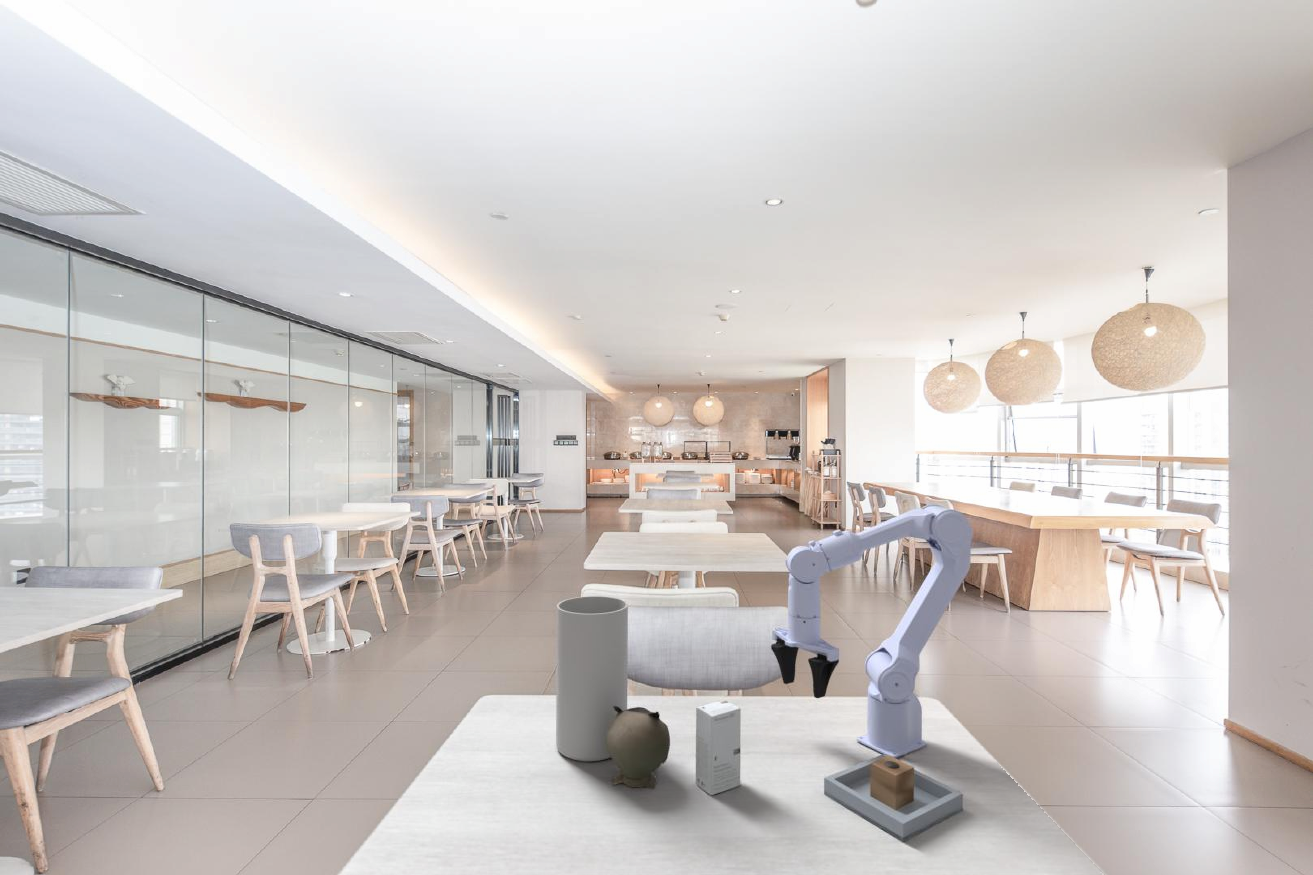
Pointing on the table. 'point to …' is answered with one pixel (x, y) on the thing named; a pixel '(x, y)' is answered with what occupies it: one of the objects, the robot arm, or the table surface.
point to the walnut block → (892, 782)
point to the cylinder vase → (590, 673)
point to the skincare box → (718, 747)
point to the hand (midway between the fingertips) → (803, 689)
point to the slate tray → (903, 823)
